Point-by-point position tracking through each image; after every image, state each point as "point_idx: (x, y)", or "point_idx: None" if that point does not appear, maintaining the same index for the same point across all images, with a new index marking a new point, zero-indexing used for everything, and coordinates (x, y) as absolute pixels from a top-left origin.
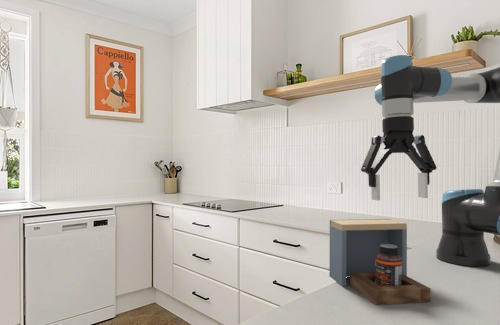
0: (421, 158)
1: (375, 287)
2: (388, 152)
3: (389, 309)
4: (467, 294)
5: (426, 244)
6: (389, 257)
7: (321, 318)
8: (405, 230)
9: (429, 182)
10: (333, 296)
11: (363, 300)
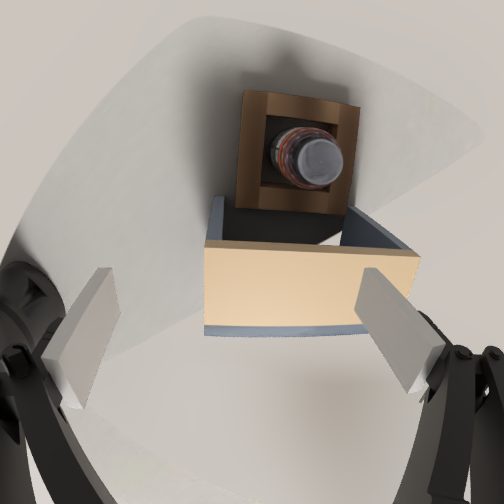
0: (40, 467)
1: (351, 124)
2: (453, 497)
3: (340, 87)
4: (139, 116)
5: None
6: (328, 137)
7: (440, 103)
8: (210, 237)
9: (49, 325)
10: (393, 165)
11: (359, 133)
